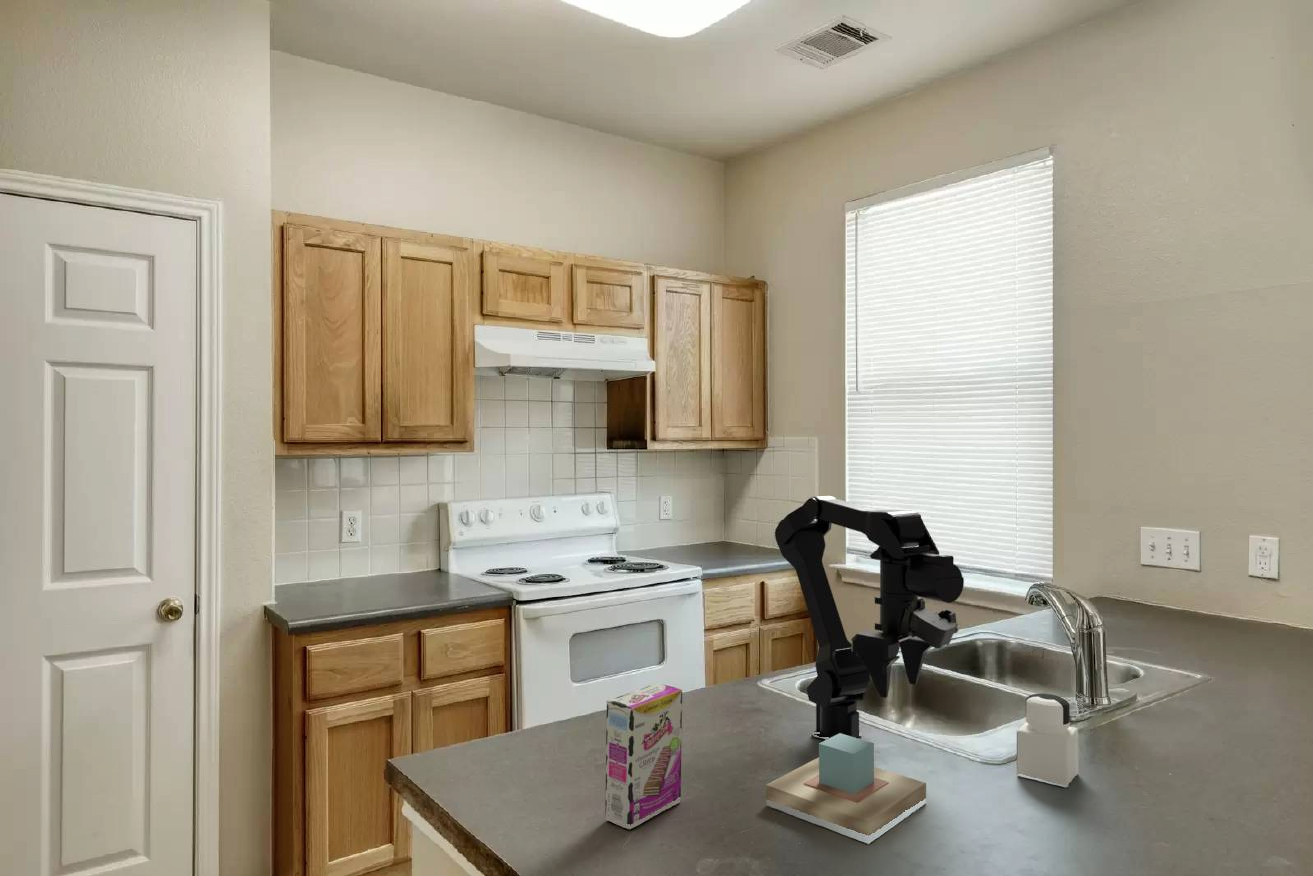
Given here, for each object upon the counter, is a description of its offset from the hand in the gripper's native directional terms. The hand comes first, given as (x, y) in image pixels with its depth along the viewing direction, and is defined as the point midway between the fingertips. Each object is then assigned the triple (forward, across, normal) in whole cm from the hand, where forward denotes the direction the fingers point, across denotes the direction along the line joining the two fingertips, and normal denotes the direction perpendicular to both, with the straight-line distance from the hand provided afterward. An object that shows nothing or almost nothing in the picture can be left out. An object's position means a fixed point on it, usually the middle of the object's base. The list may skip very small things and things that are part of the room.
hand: (898, 690), depth 129 cm
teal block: (+9, -17, -2) cm, 20 cm away
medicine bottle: (+12, +13, -18) cm, 25 cm away
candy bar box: (+12, -39, +17) cm, 44 cm away
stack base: (+12, -18, -1) cm, 21 cm away
